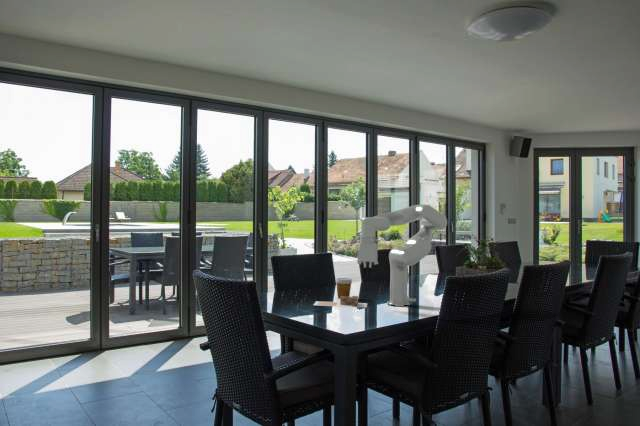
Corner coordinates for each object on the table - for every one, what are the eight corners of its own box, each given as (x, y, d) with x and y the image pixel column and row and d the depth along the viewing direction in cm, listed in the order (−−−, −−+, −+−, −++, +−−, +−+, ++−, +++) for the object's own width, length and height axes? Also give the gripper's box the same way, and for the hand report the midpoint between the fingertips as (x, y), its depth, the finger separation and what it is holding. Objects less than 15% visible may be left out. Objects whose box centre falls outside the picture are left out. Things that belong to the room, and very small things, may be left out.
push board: (367, 305, 264) (367, 303, 264) (366, 309, 252) (366, 307, 252) (316, 303, 267) (316, 301, 267) (313, 307, 255) (313, 305, 255)
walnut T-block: (357, 303, 263) (358, 296, 263) (357, 306, 254) (357, 298, 254) (341, 302, 264) (341, 295, 264) (339, 305, 255) (340, 298, 255)
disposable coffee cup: (351, 298, 284) (352, 278, 284) (351, 301, 274) (351, 280, 274) (335, 298, 285) (336, 277, 285) (334, 301, 275) (335, 279, 275)
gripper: (382, 240, 261) (381, 274, 261) (354, 239, 263) (353, 273, 263) (382, 241, 253) (381, 276, 253) (353, 240, 255) (352, 275, 255)
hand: (367, 275), depth 258 cm, fingers closed
